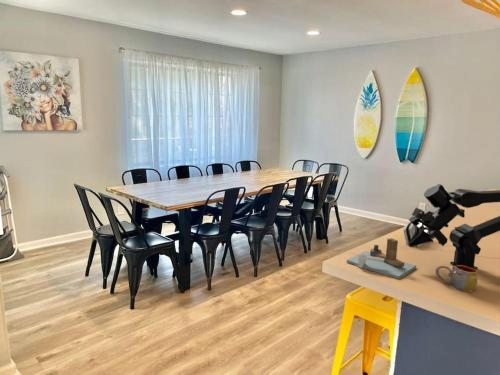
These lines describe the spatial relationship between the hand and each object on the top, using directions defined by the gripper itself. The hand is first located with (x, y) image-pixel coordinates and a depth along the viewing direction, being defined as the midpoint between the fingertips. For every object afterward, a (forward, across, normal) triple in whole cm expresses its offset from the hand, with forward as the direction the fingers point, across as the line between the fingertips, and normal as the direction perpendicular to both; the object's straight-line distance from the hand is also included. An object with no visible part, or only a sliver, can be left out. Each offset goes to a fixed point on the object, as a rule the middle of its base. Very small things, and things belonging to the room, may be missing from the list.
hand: (409, 245), depth 135 cm
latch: (+10, -2, -1) cm, 10 cm away
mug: (0, +16, +12) cm, 20 cm away
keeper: (+16, +3, -5) cm, 17 cm away
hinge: (-6, -29, +17) cm, 34 cm away
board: (+12, -1, -1) cm, 12 cm away
